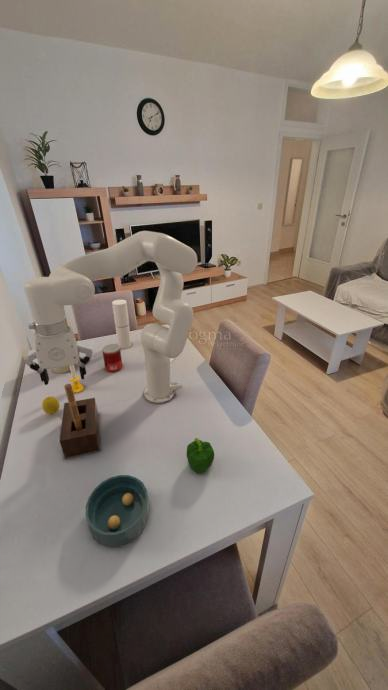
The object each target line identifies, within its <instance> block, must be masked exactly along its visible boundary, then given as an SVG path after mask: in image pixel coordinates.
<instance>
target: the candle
mask: <svg viewBox="0 0 388 690" xmlns="http://www.w3.org/2000/svg"><path fill="white" fill-rule="evenodd" d="M70 375H71V378H69V382H72V384H71V385H72V388H73V392H74V394H76V393H81V392H82V391H83V390H84V388H85V387H84V385H83V384H81V383H80V382H79V380H80V379H81V376H78V375H77V372H76V368H75V365H70Z"/></svg>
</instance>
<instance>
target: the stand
mask: <svg viewBox="0 0 388 690" xmlns="http://www.w3.org/2000/svg"><path fill="white" fill-rule="evenodd" d="M76 404H77V408H78V412H79V416H80V420H81V424H82V428H83V429H81V430H76V428H75V424H74V420H73V417H72V413H71V409H70V406H69V402H64V403H63V410H62V417H61V426H60V434H59V444H60V448H61V450H62V453H63V454H62V455H63V457H64V459H68V458H72V457H77V456H78V457H79V456H82V455H86V454H91V453H95V452H99V451H100V433H99V432H100V429H99V427H100V425H99V411H98V406H97V402H96V397H91V398H85V399H80V400H76Z"/></svg>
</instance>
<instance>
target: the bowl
mask: <svg viewBox="0 0 388 690" xmlns="http://www.w3.org/2000/svg"><path fill="white" fill-rule="evenodd" d="M126 493H131V494H132V495H133V497H134V500H133V502H132V504H131V505H128V506H126V505H124V504H123V502H122V498H123V496H124V495H125V494H126ZM148 494H149V493H148V490H147V488H146V486H145V485H144V482H143V481H141V480H140V479H138V477H135V476H132V475H129V474H119V475H115V476H111V477H109V478H107V479H105V480H103V481H101V483H99V484H98V485H97V486H96V487H95V488H94V489H93V490H92V491H91V494H90V495H89V496H88V499H87V502H86V504H85V519H86V522H87V526H88V529H89V531H90V534H91V536H92V538H93V539H94V540H95V541H96V542H97V544H99V545H102V546H104V547H106V548H118V547H122V546H124V545H128V544H129V543H130V542H132V541H133V540H135V539H137V537H139V535H140V534H141V533H142V532H143V530H144V529H145V527H146V525H147V522H148V520H149V516H150V502H149V495H148ZM114 515H116V516H118V517H119V519H120V524H119V526H118V528H116V529H114V530H112V529H110V528H109V527H108V520H109V518H110V517H111V516H114Z"/></svg>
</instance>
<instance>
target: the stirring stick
mask: <svg viewBox="0 0 388 690" xmlns="http://www.w3.org/2000/svg"><path fill="white" fill-rule="evenodd" d="M72 385H73V384H72V383H66V384H65V385H64V390H65V394H66V399H67V401H68V402H69V406H70V409H71V413H72V417H73V420H74V424H75V428H76V430H81V429H83V428H82V424H81V420H80V416H79V412H78V408H77V404H76V401H77V400H76V397H75V393H74V392H73V388H72V387H73V386H72ZM68 402H67V403H68Z"/></svg>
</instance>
